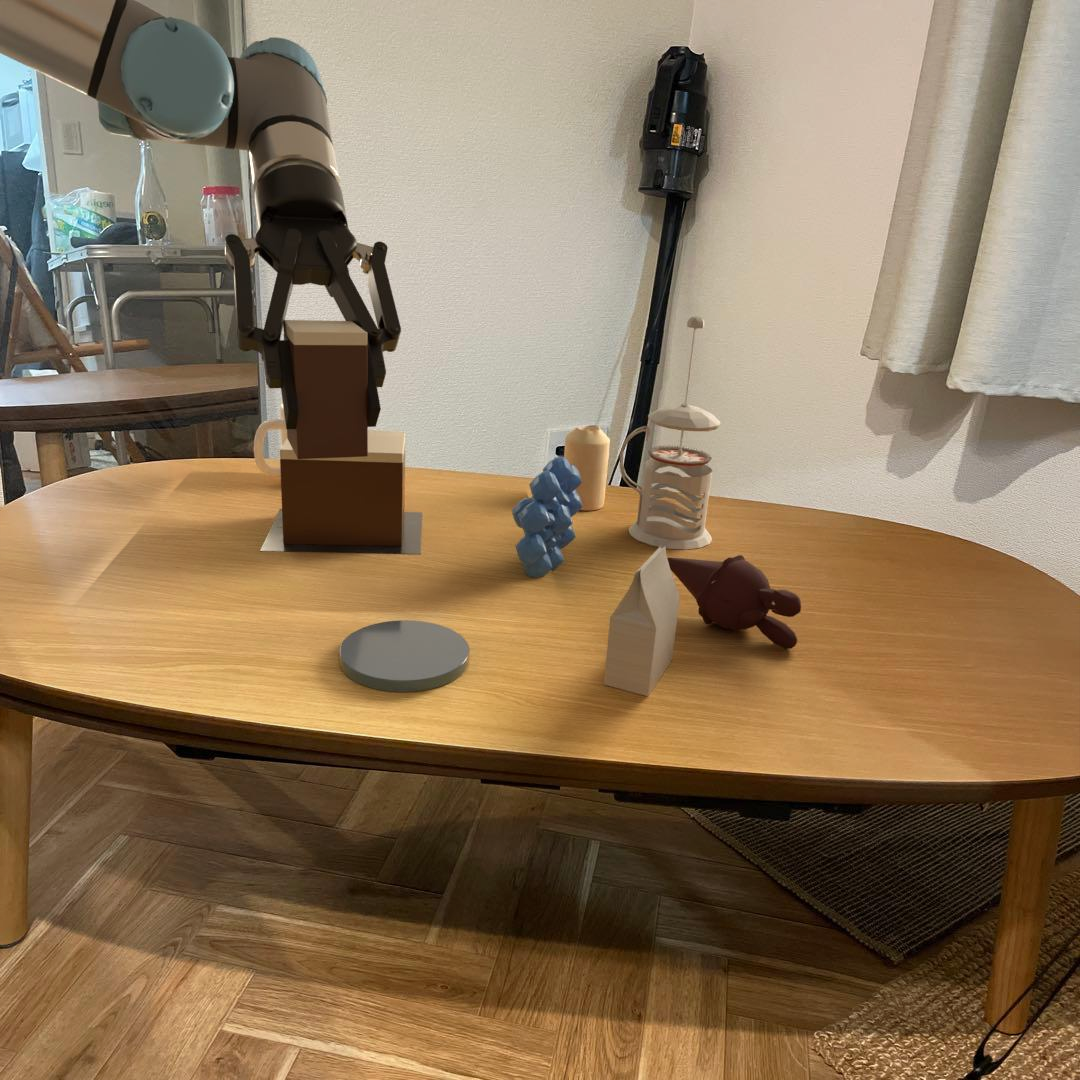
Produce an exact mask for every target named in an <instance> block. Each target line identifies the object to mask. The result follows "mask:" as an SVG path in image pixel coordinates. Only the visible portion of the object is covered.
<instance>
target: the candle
mask: <svg viewBox="0 0 1080 1080" xmlns="http://www.w3.org/2000/svg"><path fill="white" fill-rule="evenodd" d="M610 445H611V439H610V438H609V437H608V436H607V434H606V433H605V432H604V431H603V430H602V429H601V428H600V426H599V425H596V424H591V425H587V426H584V427H579V426H577V427H575V428H574V429H573V430H571V431H569V433H567V434H566V435H565V438H564V451H563V457H564V458H565V459H567V460H568V462H569V464H572V465H574V466H575V467H576V468H577V470H578V472H579V474H580V477H581V480H582V483H581V484H580V485H579V486H578V487H577V488H576V489H575V491H577V493H578V495H579V496H580V499H581V502H582V506H583V507H582V508H581V509H580V510H579V511H596V510H597V511H598V510H600V509H602V508H603V507H604V505H605V498H606V488H607V487H606V486H607V475H608V467H609V456H610Z"/></svg>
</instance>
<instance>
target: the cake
mask: <svg viewBox="0 0 1080 1080" xmlns="http://www.w3.org/2000/svg"><path fill="white" fill-rule="evenodd" d="M279 467H280V471H281V477H280V493H281V494H280V495H281V509H282V523H283V544H311V545H360V546H402V538H403V527H404V512H405V498H406V497H405V496H406V495H405V494H406V431H400V430H398V431H397V430H373V429H372V430H371V429H370V430H369V429H368V456H365V457H341V458H316V459H298V458H297V456H296V454H295V452H294V451H293V449H292V447H291V445H290V443H289V441H288V439H286V440H285V442H284V444H283V445H282V444H281V447H280V448H279Z"/></svg>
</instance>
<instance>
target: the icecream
mask: <svg viewBox="0 0 1080 1080" xmlns="http://www.w3.org/2000/svg"><path fill="white" fill-rule="evenodd" d="M667 559H668V563H669V566H670V569H671V572H672V574H674V575H675V576H676V578H677V579H678V580H679V581H680V582H681V584H682V585H683V586H684V587H685V588H686V589H687V591H688V592H689V593H690V594H691V596H692V597H693V598H694V599H695V602H696V604H697V606H698V615H699V616H700V617H701V618H702V621H703V622H704V624H706V625H711V624H715V625H717V626H719V627H722V628H723V629H729V630H737V631H738V630H740V631H742V630H747V629H750V628H753V627H756V628H758V630H759V631H760V632H761V633H762V635H764V636H765V637H766V638H767V639H768V640H769V641H771V642H772V643H773V644H774V645H776V646H778V647H781V648H783V649H785V650H790V649H791V650H792V649H793V648H794V647H796V645H797V644H798V637H797V634H796V633H795V631H793V629H792V628H791V627H790V626H789V625H788V624H787V623H785V622H783V621H781V620H779V619H778V618H775V617H773V616H770V615H767V614H768V613H769V612H770V611H771V612H772V613H773V614H775V615H778V616H781V617H787V618H793V617H795V616H797V615H798V614H799V613H801V610H802V602H801V597H799V595H798V594H796V593H795V592H792V591H790V590H787V589H774V588H771V584H770V582H769V579H768V578H767V576H766V575H765V574H764V573H765V572H763V571H762V570H761V569H760V568H759V567H757V566H755V565H753V564H752V563H751V562H750V561H748V560H746V559H745V557H744V556H743V554H742V555H741V554H739V555H736V556H733V557H727V558H725V559H723V561H719V560H718V561H717V560H706V559H696V558H695V559H694V558H682V557H672V556H671V557H669V556H667Z"/></svg>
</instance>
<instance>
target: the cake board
mask: <svg viewBox="0 0 1080 1080" xmlns="http://www.w3.org/2000/svg"><path fill="white" fill-rule="evenodd" d="M422 533H423V512H422V511H404V527H403V538H402V546H360V545H311V544H283V523H282V508H280V509H279V511H278V513H277V515H276V517H275V518H274V521H273V523H272V525H271V527H270V529H269V531H268V533H267V535H266V537H265V540H264V541H263V543H262V545H261V548H260V550H259V552H265V553H266V552H269V553H319V554H321V553H322V554H323V553H324V554H369V555H370V554H371V555H373V554H375V555H422V536H423V535H422Z"/></svg>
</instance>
